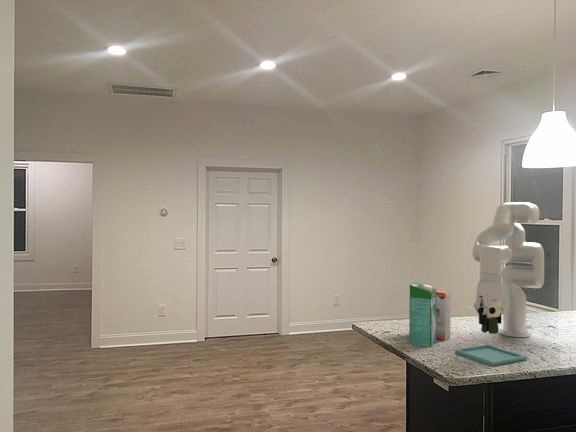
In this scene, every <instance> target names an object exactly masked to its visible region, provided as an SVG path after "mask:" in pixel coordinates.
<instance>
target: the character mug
mask: <svg viewBox="0 0 576 432" xmlns="http://www.w3.org/2000/svg"><path fill="white" fill-rule="evenodd" d="M482 306H484V304H483V301H482ZM500 308H503V310H502V311H503V312H501V311H500ZM482 310H484V308H482ZM475 311H476V312H477V310H476V309H475ZM500 314H501V315H503V314H505V306H503V305H500V300H499V301H490V306H489V308H487V311H486V314H485V315H487V325H481V330H480V331H481V332H482V333H485V334H487V333H488V334H491V335H492V334H493V335H494V334H495V335H496V334H498V333H500V328H499V323H498V321H497V318H496V317H499V316H500Z"/></svg>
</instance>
